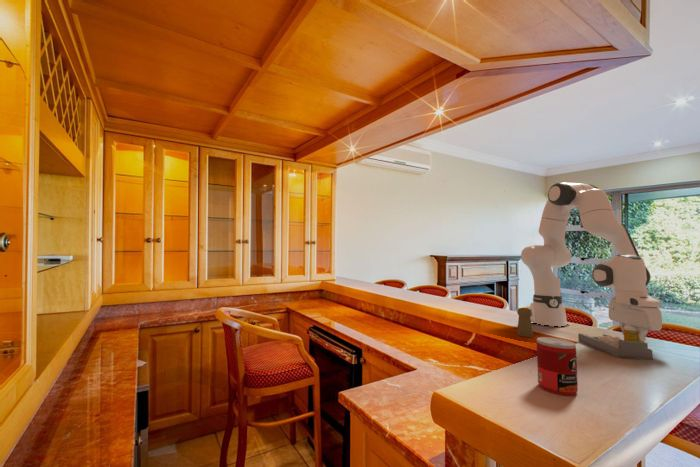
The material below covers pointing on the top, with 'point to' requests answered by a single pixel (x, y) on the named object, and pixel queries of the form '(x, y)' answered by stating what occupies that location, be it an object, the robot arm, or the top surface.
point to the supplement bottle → (631, 333)
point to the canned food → (557, 366)
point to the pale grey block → (609, 340)
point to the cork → (524, 323)
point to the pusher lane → (623, 351)
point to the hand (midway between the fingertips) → (633, 338)
